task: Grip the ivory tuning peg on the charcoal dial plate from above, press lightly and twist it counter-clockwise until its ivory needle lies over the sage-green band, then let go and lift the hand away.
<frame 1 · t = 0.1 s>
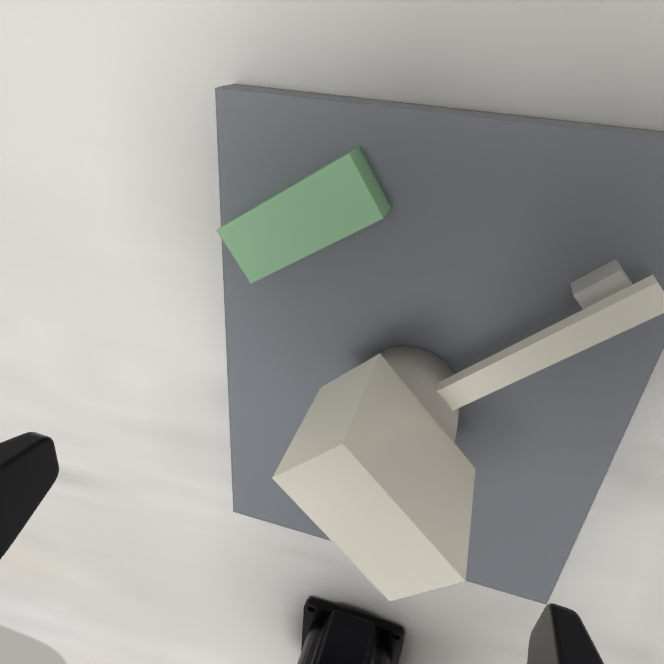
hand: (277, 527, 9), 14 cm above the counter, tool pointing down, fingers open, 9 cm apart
dial plate: (414, 370, 24), on the counter
tuning peg: (483, 407, 18), point 5 cm above the counter, hinge at -45.0°
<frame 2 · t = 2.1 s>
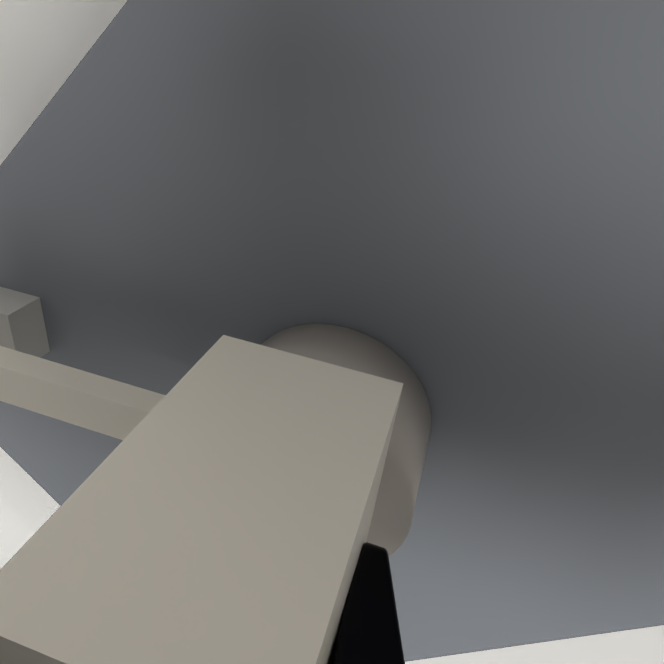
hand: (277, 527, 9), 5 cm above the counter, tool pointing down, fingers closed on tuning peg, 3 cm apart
dial plate: (351, 372, 13), on the counter
tuning peg: (68, 475, 10), point 5 cm above the counter, hinge at -45.0°, touching gripper
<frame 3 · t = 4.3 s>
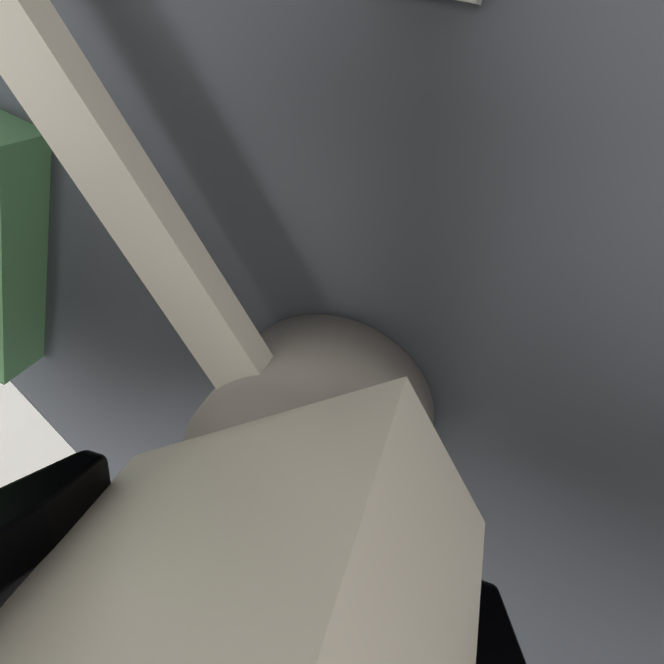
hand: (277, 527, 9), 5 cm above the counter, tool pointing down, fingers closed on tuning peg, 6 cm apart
dial plate: (351, 364, 13), on the counter
tuning peg: (121, 344, 7), point 5 cm above the counter, hinge at -5.3°, touching gripper
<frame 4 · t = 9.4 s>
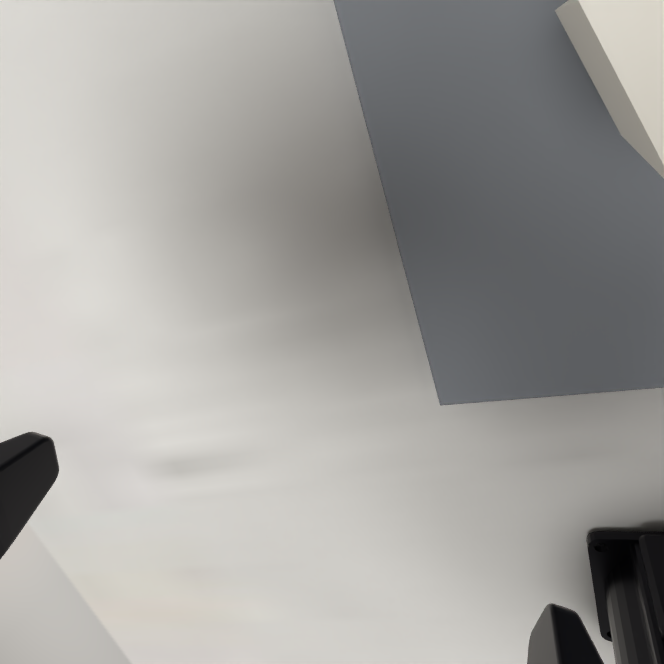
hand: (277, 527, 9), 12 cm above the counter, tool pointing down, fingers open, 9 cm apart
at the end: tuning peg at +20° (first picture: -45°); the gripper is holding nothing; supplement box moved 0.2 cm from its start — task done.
